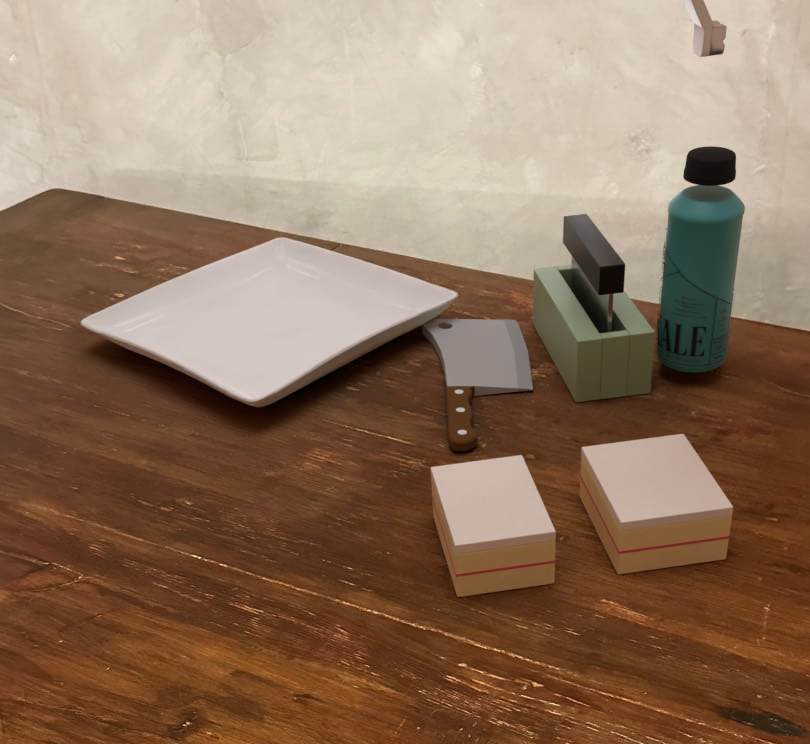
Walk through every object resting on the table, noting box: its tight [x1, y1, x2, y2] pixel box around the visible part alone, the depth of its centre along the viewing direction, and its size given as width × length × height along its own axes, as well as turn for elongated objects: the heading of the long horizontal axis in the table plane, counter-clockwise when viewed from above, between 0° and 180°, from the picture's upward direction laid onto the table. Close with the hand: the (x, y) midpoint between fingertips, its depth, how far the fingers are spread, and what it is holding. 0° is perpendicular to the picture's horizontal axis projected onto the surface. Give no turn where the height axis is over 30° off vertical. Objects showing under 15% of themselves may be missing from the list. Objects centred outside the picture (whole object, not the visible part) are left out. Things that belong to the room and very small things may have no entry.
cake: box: [578, 433, 734, 575], centre depth 83 cm, size 8×10×5 cm
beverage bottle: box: [654, 145, 746, 373], centre depth 96 cm, size 6×7×20 cm
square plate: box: [80, 236, 459, 408], centre depth 112 cm, size 27×27×4 cm
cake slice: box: [430, 454, 557, 598], centre depth 82 cm, size 7×10×5 cm
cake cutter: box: [562, 213, 626, 334], centre depth 102 cm, size 2×12×12 cm, turn 8°
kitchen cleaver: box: [421, 318, 534, 452], centre depth 103 cm, size 24×1×10 cm
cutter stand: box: [532, 263, 656, 403], centre depth 104 cm, size 7×16×6 cm, turn 8°
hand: (778, 47), depth 72 cm, fingers open, 8 cm apart
